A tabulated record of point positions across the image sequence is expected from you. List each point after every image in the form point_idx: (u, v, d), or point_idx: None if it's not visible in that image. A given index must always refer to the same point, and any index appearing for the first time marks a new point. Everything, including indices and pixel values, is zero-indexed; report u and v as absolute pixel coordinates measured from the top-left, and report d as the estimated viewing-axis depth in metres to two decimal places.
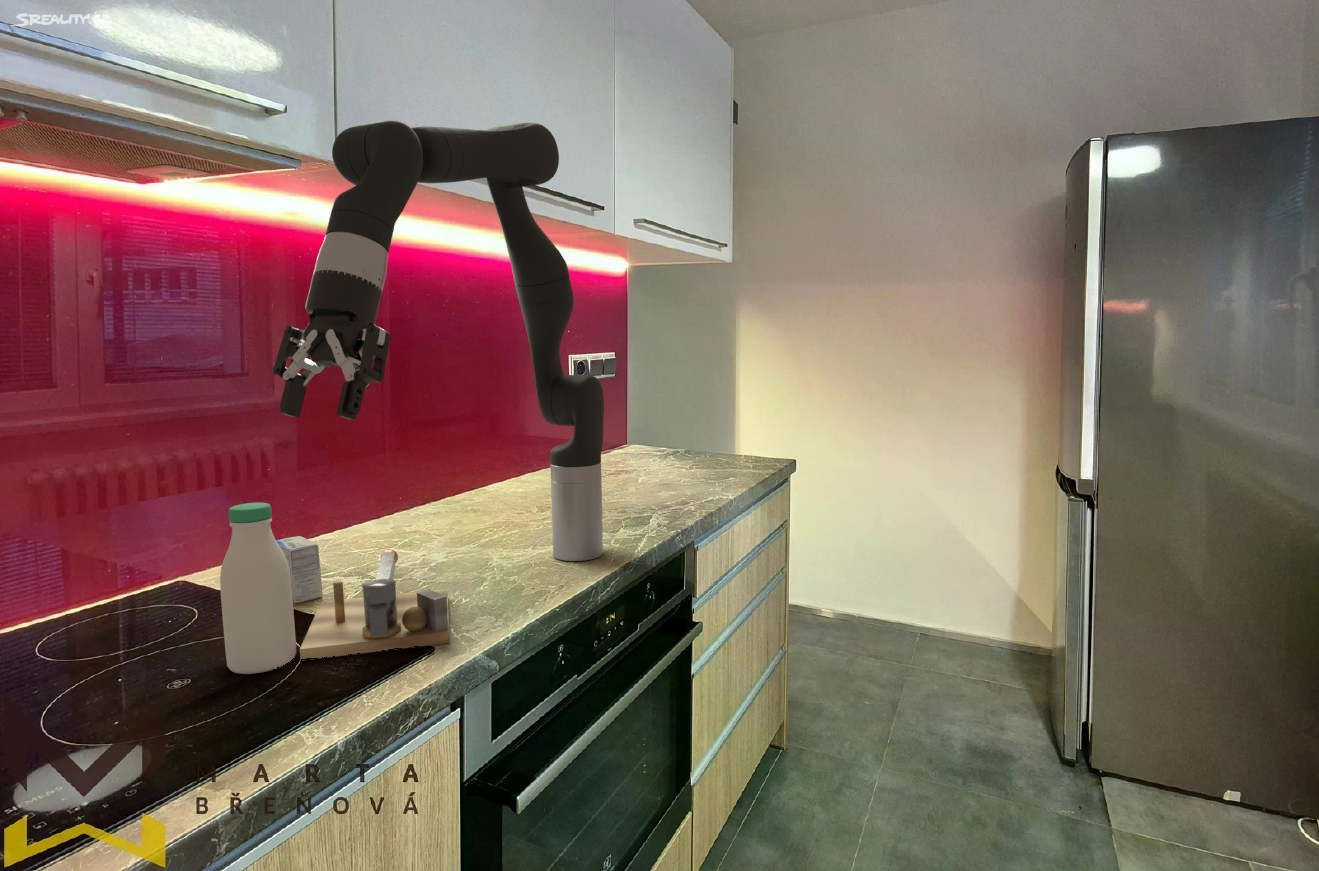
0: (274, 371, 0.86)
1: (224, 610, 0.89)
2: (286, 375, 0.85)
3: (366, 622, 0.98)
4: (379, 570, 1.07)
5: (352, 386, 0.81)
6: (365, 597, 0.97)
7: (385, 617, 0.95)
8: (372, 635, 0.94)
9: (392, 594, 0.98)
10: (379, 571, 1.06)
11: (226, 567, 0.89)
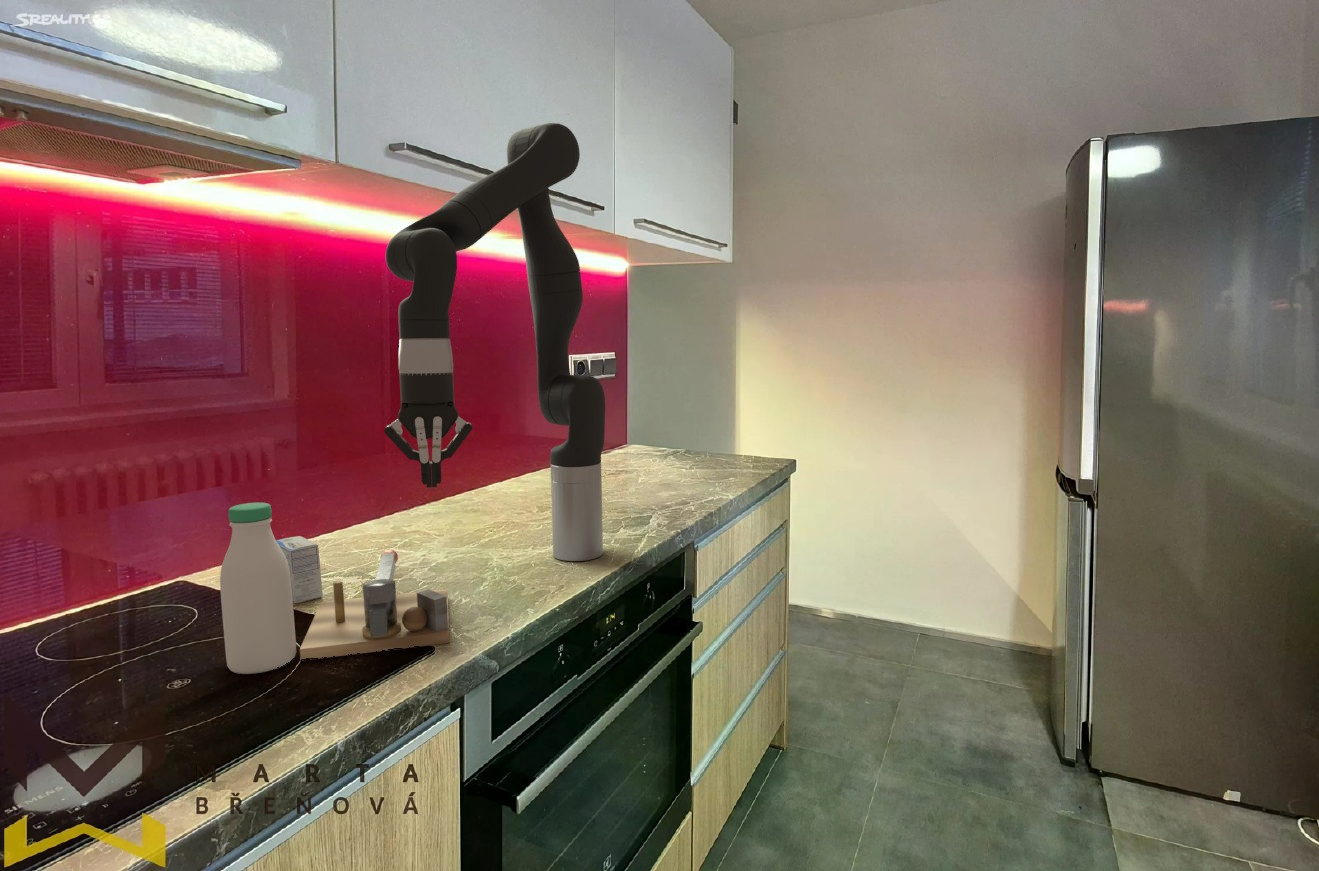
0: (411, 458, 1.09)
1: (224, 610, 0.89)
2: (425, 459, 1.09)
3: (366, 622, 0.98)
4: (379, 570, 1.07)
5: (438, 465, 1.10)
6: (365, 597, 0.97)
7: (385, 617, 0.95)
8: (372, 635, 0.94)
9: (392, 594, 0.98)
10: (379, 571, 1.06)
11: (226, 567, 0.89)
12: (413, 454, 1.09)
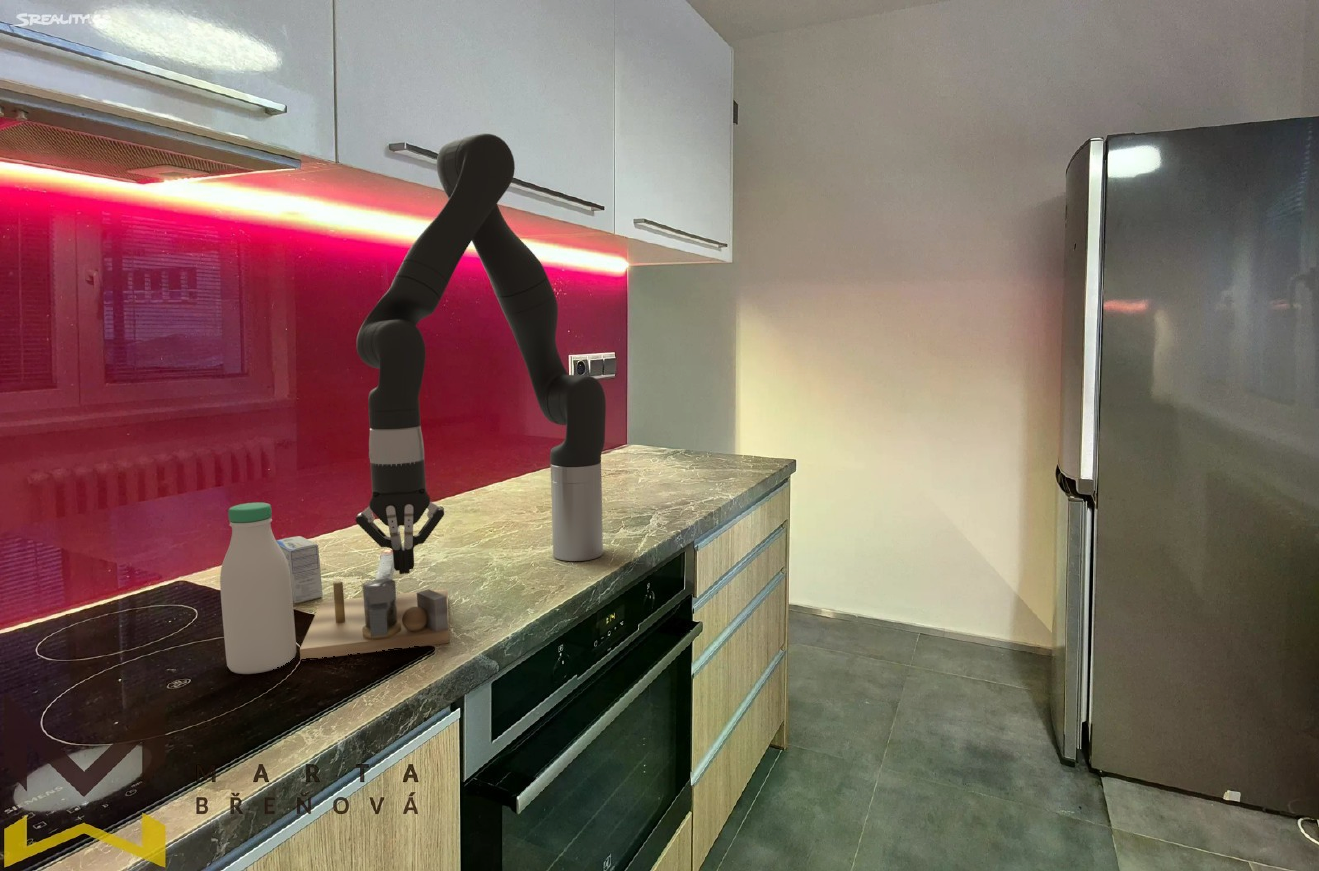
0: (382, 545, 1.09)
1: (224, 610, 0.89)
2: (397, 546, 1.09)
3: (366, 622, 0.97)
4: (379, 570, 1.07)
5: (410, 551, 1.11)
6: (365, 597, 0.97)
7: (385, 617, 0.95)
8: (372, 635, 0.94)
9: (392, 594, 0.98)
10: (379, 571, 1.06)
11: (226, 567, 0.89)
12: (385, 542, 1.09)
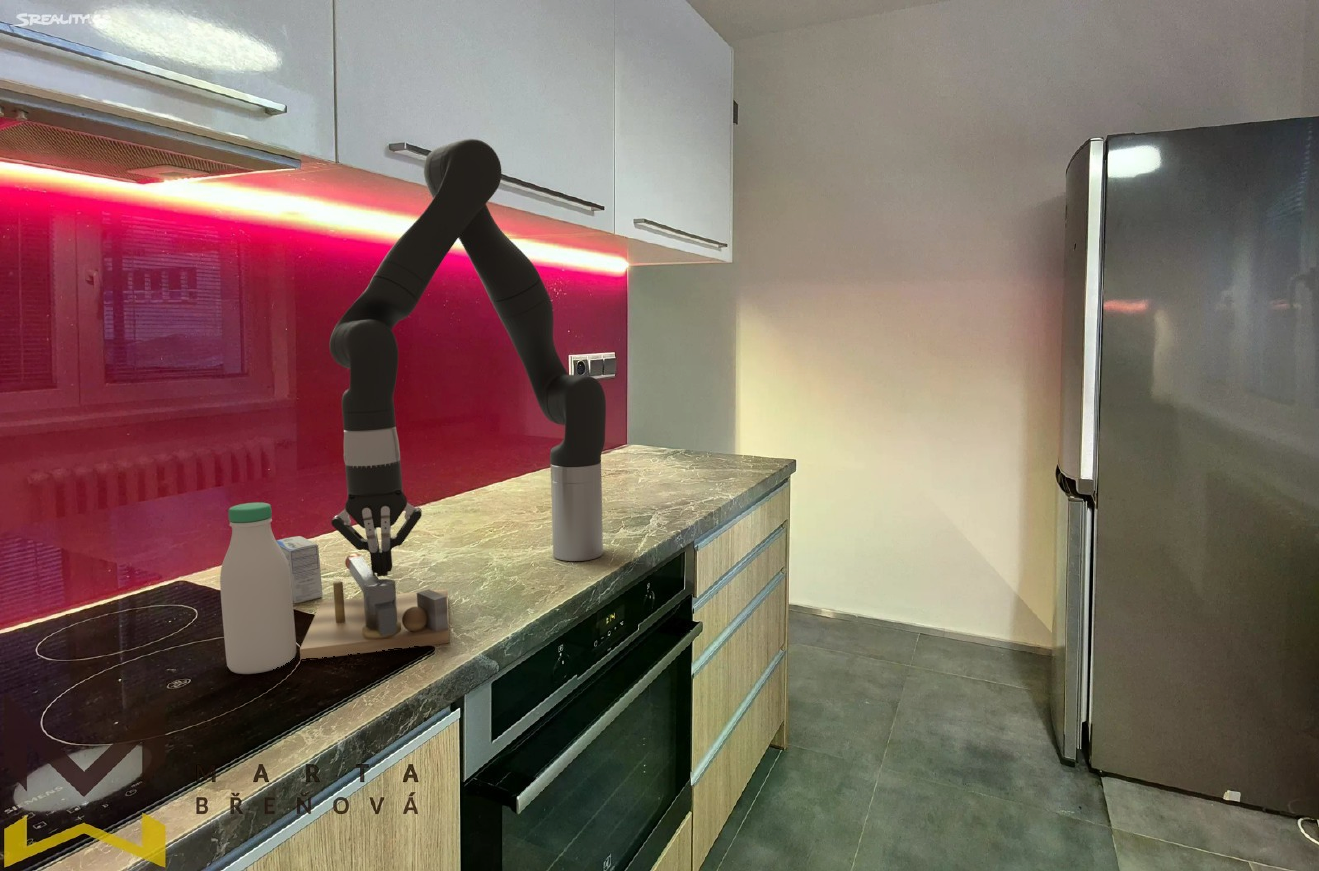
0: (359, 548, 1.08)
1: (224, 610, 0.89)
2: (374, 548, 1.08)
3: (367, 623, 0.97)
4: (361, 573, 1.06)
5: (388, 553, 1.10)
6: (368, 598, 0.97)
7: (394, 615, 0.95)
8: (382, 634, 0.95)
9: (394, 593, 0.98)
10: (362, 574, 1.05)
11: (226, 567, 0.89)
12: (362, 544, 1.08)
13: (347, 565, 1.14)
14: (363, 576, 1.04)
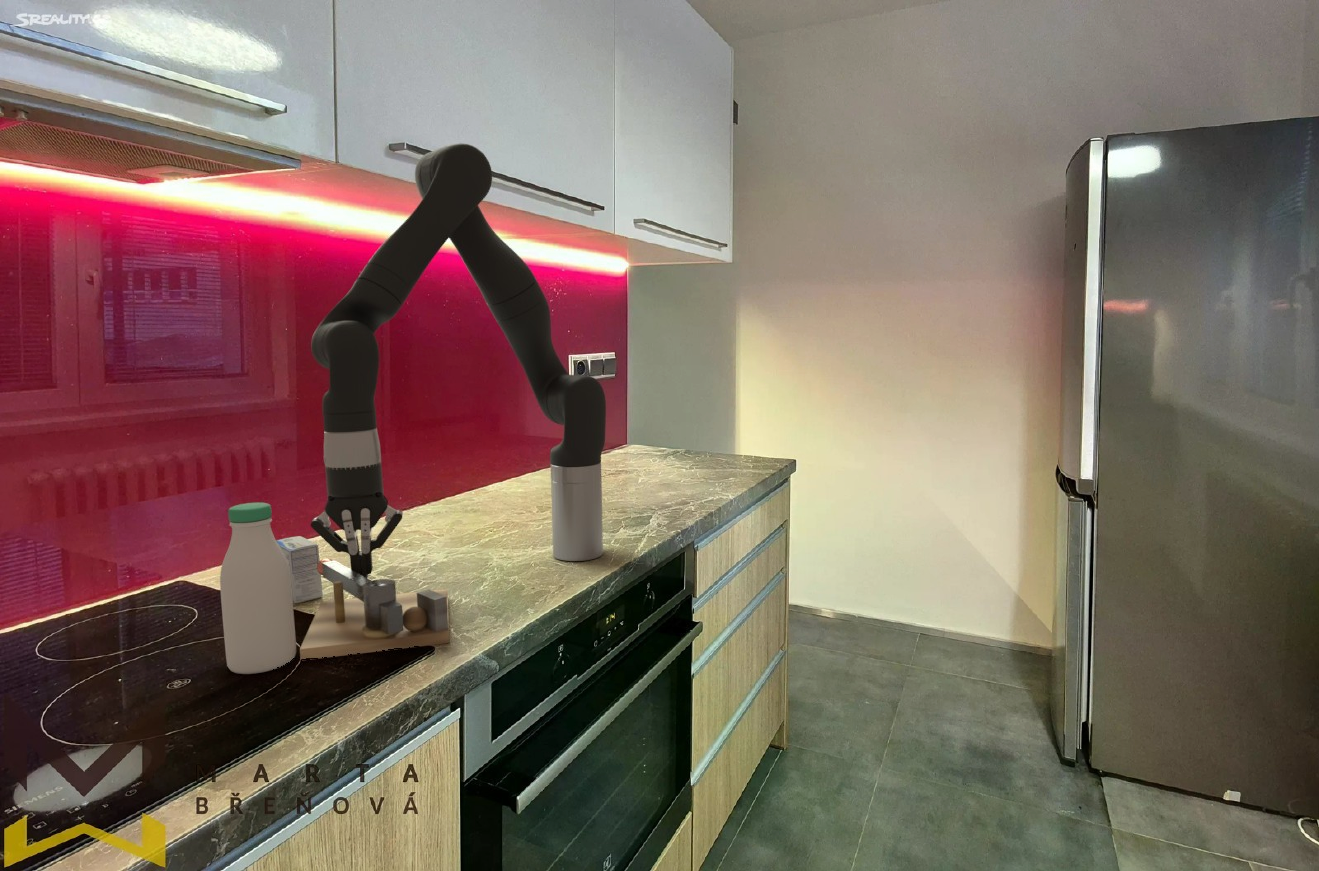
0: (339, 550, 1.07)
1: (224, 610, 0.89)
2: (354, 551, 1.08)
3: (370, 624, 0.97)
4: (347, 576, 1.05)
5: (368, 555, 1.09)
6: (370, 598, 0.96)
7: (401, 613, 0.96)
8: (390, 633, 0.95)
9: (395, 592, 0.99)
10: (349, 576, 1.04)
11: (226, 567, 0.89)
12: (341, 546, 1.07)
13: (320, 570, 1.11)
14: (352, 578, 1.03)
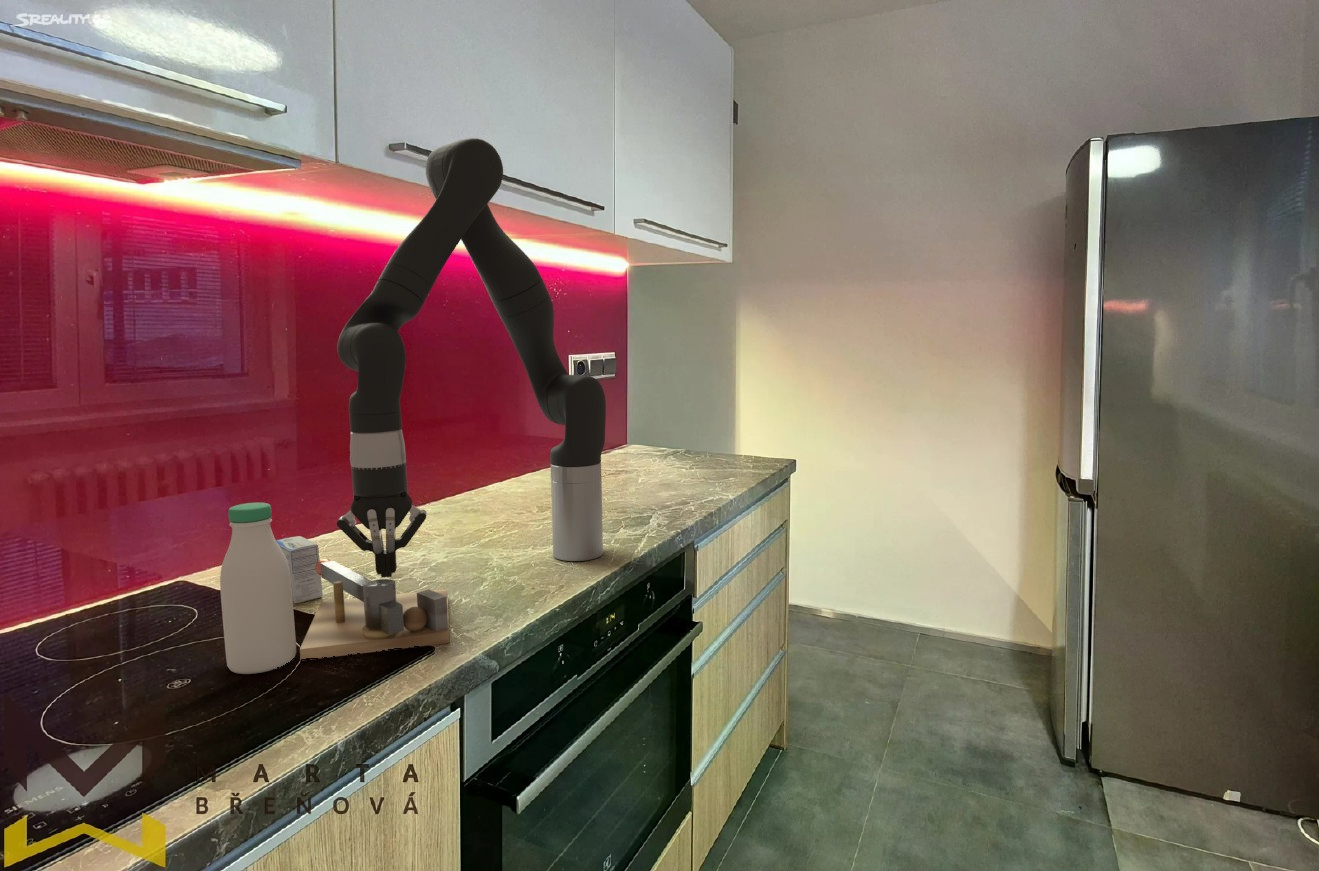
0: (364, 549, 1.09)
1: (224, 610, 0.89)
2: (378, 550, 1.09)
3: (370, 624, 0.97)
4: (346, 576, 1.04)
5: (392, 554, 1.10)
6: (370, 598, 0.96)
7: (401, 613, 0.96)
8: (390, 633, 0.95)
9: (395, 592, 0.99)
10: (348, 576, 1.04)
11: (226, 567, 0.89)
12: (366, 545, 1.09)
13: (319, 571, 1.11)
14: (351, 579, 1.03)
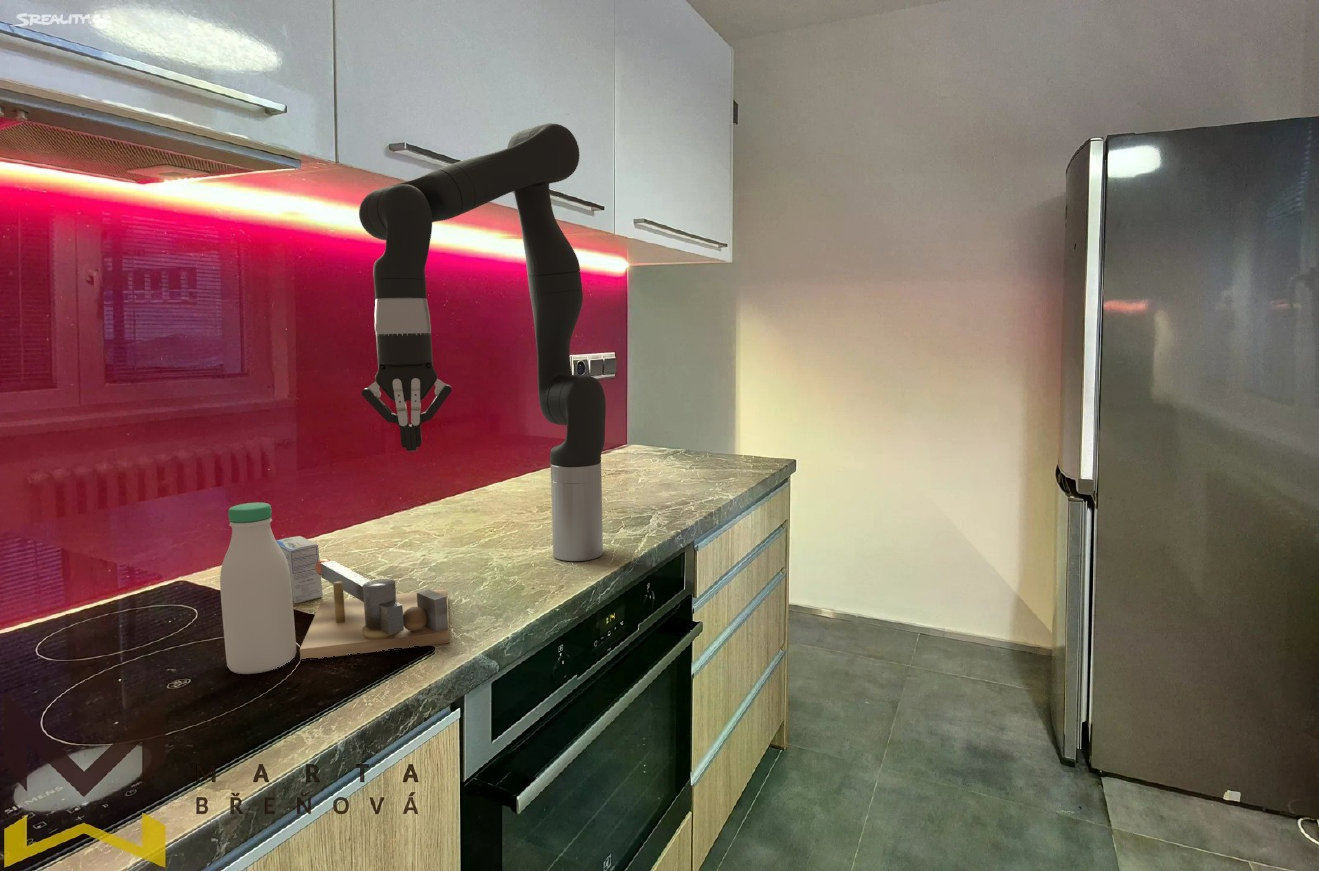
0: (389, 420, 1.07)
1: (224, 610, 0.89)
2: (404, 422, 1.08)
3: (370, 624, 0.97)
4: (346, 576, 1.04)
5: (417, 428, 1.09)
6: (370, 598, 0.96)
7: (401, 613, 0.96)
8: (390, 633, 0.95)
9: (395, 592, 0.99)
10: (348, 576, 1.04)
11: (226, 567, 0.89)
12: (392, 417, 1.07)
13: (319, 571, 1.11)
14: (351, 579, 1.03)
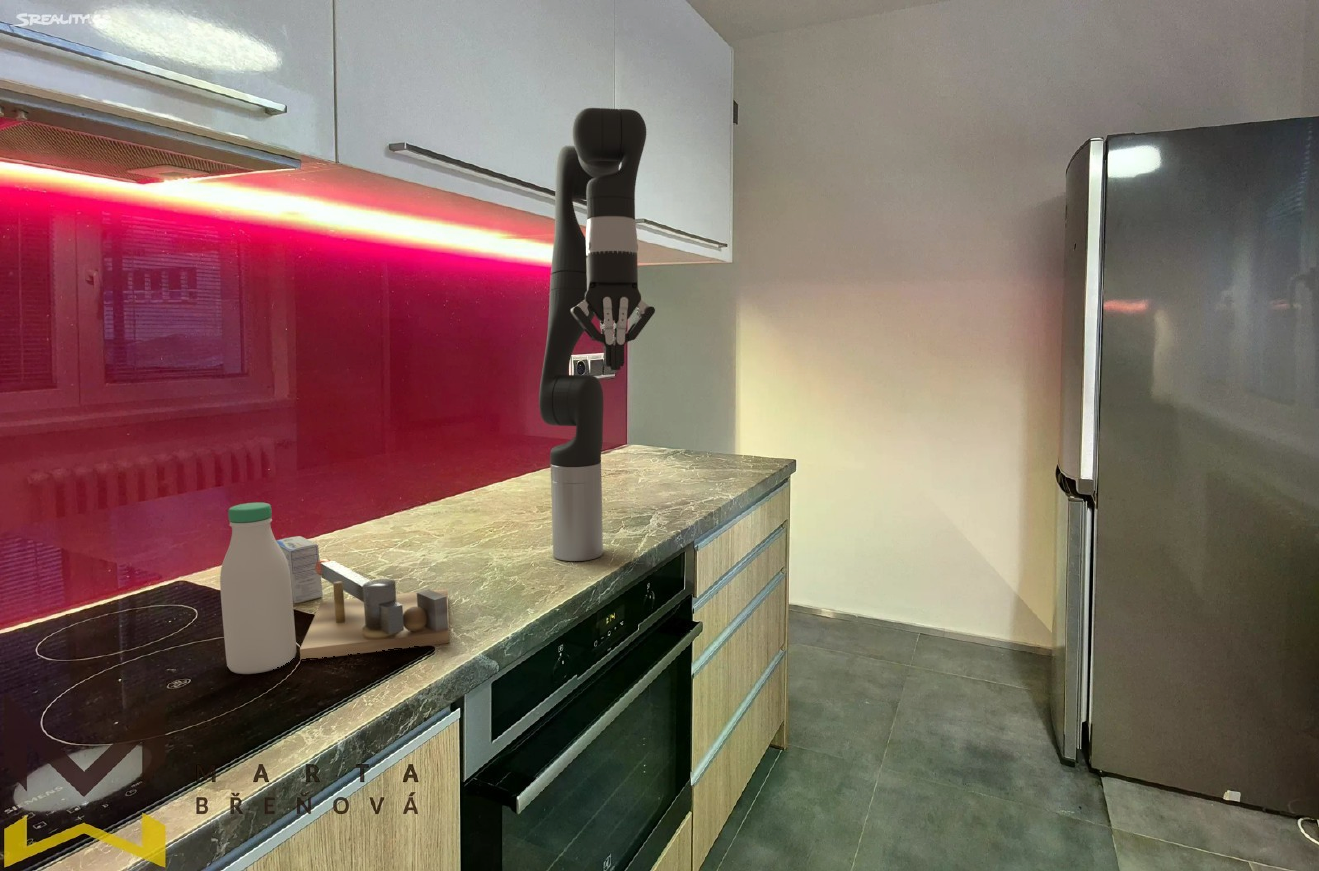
0: (597, 338, 1.09)
1: (224, 610, 0.89)
2: (610, 340, 1.10)
3: (370, 624, 0.97)
4: (346, 576, 1.04)
5: (621, 347, 1.11)
6: (370, 598, 0.96)
7: (401, 613, 0.96)
8: (390, 633, 0.95)
9: (395, 592, 0.99)
10: (348, 576, 1.04)
11: (226, 567, 0.89)
12: (599, 335, 1.09)
13: (319, 571, 1.11)
14: (351, 579, 1.03)
